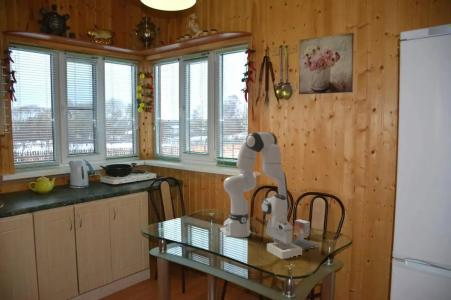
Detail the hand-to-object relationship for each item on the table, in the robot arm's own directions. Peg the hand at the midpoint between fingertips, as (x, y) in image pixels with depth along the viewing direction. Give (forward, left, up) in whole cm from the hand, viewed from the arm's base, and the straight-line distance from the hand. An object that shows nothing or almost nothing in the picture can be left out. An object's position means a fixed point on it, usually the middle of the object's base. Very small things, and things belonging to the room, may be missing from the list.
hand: (277, 246), depth 198 cm
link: (+6, 0, -2) cm, 6 cm away
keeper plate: (0, +17, -2) cm, 17 cm away
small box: (-13, +29, -2) cm, 32 cm away
